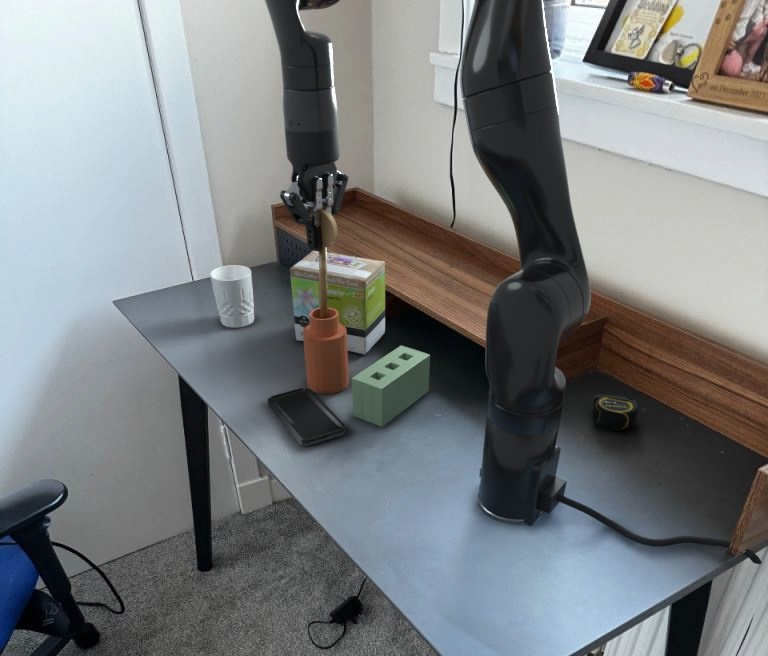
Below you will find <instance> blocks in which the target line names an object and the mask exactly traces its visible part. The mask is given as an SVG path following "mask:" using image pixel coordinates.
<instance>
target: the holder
mask: <svg viewBox="0 0 768 656" xmlns="http://www.w3.org/2000/svg"><path fill="white" fill-rule="evenodd" d="M430 366H431V354H430V353H429V354H428V353H426V352H423V351H420V350H416V349H414V348H410V347H407V346H404V345H399V346H398V347H396V348H395V349H393V350H392V351H390V352H389V353H387V354H386V355H384V356H383V357H381V358H380V359H378V360H377V361H375V362H373V363H372V364H371V365H369V366H367V368H365V369H363V370H362V371H360V372H359V373H357V374H356V375H354V376H353V377H351V392H352V393H351V394H352V415H353V417H356V418H358V419H361V420H363V421H365V422H368V423H371V424H373V425H375V426H378V427H381V428H383V427H384V426H386V425H387V424H388V423H390V422H391V421H392V420H394V419H395V418H396V417H398V416H399V415H400V414H401V413H403V412H404V411H405V410H407V409H408V408H409V407H410V406H411V405H413V404H414V403H416V402H417V401H418V400H419V399H421V398H422V397H423V396H425V395H426V394H428V393H429V391H430V369H431V368H430Z"/></svg>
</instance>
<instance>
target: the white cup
mask: <svg viewBox="0 0 768 656" xmlns="http://www.w3.org/2000/svg"><path fill="white" fill-rule="evenodd" d="M209 277H210V281H211V286H212V292H213V296H214V300H215V303H216V308H217V311H218V315H219V320H220V323H221V325H222V326H225V327H226V328H233V329H236V328H237V329H238V328H245V327H247V326H250V325H251V324H253V323H254V321H255V303H254V289H253V288H254V287H253V278H252V269H251V268H249V267H248V266H245V265H239V264H229V265H222V266H218V267H216V268H214V269H213V270H211V271H210V273H209Z"/></svg>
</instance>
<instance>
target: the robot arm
mask: <svg viewBox="0 0 768 656" xmlns="http://www.w3.org/2000/svg"><path fill="white" fill-rule="evenodd" d="M339 2H341V0H264V3H265V6H266V9H267V12H268V15H269V18H270V21H271V24H272V28H273V32H274V35H275V39H276V42H277V47H278V51H279V56H280V69H281V70H280V71H281V82H282V113H283V126H284V136H285V138H284V139H285V148H286V149H285V150H286V158H287V160H288V161H289V162H290V164H291V166H292V171H291V176H290V180H291V184H290V186H289V187H288V188H287V190H284V189H283V190H280V194H279V198H280V199H281V201H282V203H283V205H284V206H285V208H286V209H287V211H288V212H289V214H290V216H291V217H292V219H293V220H294V222H295V223H296V224H299V225H303V226H305V233H306V245H307V247H308V249H309V250H311V251H317V252H318V251H320V250H322V233H321V226H320V223H321V222H320V210H321V209H323V210H326V211H328V212H329V213H330V214H331V215H332V216H333V217H334V215H335V216H337V215H338V214H339V212H340V209H341V206H342V202H343V199H344V195H345V192H346V188H347V185H348V183H349V175H348V174H346V173H343V172H340V171H339V170H338V166H337V163H336V162H338V160H339V159H340V157H341V156H340V154H341V153H340V132H339V130H340V129H339V108H338V99H337V94H336V85H335V83H336V82H335V59H334V45H333V42H332V39H331V38H330V37H329V36H328V35H326V34H325V33H321V32H318V31H312V30H307V29H306V27H305V25H304V24H303V21H302V18H301V16H300V11H313V10H324V9H329V8H330V7H333V6H335V5H337V4H338V3H339ZM546 27H547V26H546V18H545V10H544V1H543V0H474V2H473V7H472V12H471V14H470V19H469V23H468V27H467V32H466V36H465V39H464V45H463V50H462V55H461V59H460V60H461V61H460V67H459V85H460V86H459V88H460V93H461V98H462V104H463V110H464V111H463V112H464V115H465V120H466V126H467V132H468V136H469V141H470V144H471V147H472V150H473V153H474V156H475V158H476V160H477V162H478V164H479V165H480V167H481V169H482V171H483V172H484V174H485V175H486V177H487V179H488V180H489V182H490V183H491V185H492V186H493V188H494V190H495V191H496V192H497V193H498V195H499V197H500V199H501V200H502V202H503V204H504V205H505V207H506V209H507V212H508V213H509V216H510V218H511V221H512V224H513V228H514V232H515V237H516V238H515V239H516V243H517V249H518V256H519V264H520V265H519V266H520V270H519V271H517V272H515V273H514V274H511V275H510V276H508V277H507V278H505V279H504V280H503V281H501V282H500V283H499V284H498V285H497V286H496V287H495V289H494V290H493V293H492V294H491V297H490V300H489V304H488V308H487V314H486V326H485V351H484V352H485V353H484V369H485V370H484V371H485V374H486V379H487V380H488V384H489V385H488V386H489V389H488V398H487V409H486V417H485V426H484V427H485V428H484V438H483V448H482V459H481V468H480V469H479V478H480V480H479V488H478V494H477V504H478V506H479V508H480V510H481V512H483V513H484V514H485V515H487V516H488V517H489V518H491V519H493V520H496V521H497V522H502V523H504V524H517V525H519V524H525V525H527V526H530V527H531V526H533V525H534V524H535V523H536V522H537V521H538V519H539V518H540V517H542V515H543V514H544V513H546V514H547V515H550V514H551V513H552V512H553V510H554V509H556V507H557V506H558V505H559V504H560V503H561V504H563V505H566V506H568V507H571V508H573V509H575V510H577V511H579V512H581V513H584V514H586V515H588V516H590V517H591V518H593V519H595V520H596V521H598V522H600V523H602V524H603V525H605V526H607V527H609V528H611V529H612V530H614V531H615V532H617V533H618V534H620V535H622V536H623V537H625V538H627V539H628V540H630V541H632V542H634V543H637V544H641V545H644V546H647V547H648V546H649V547H658V548H659V547H661V548H662V547H668V546H675V545H680V544H681V545H682V544H695V545H705V546H715V547H722V548H727V549H730V548H729V546H730V544H731V541H732V540H728V539H723V538H714V537H703V536H695V535H679V536H672V537H668V538H660V539H659V538H648V537H645V536H641V535H638V534H636V533H634V532H632V531H631V530H629V529H627V528H625V527H624V526H622V525H621V524H619V523H618V522H616V521H614V520H612V519H611V518H609V517H607V516H605V515H603V514H602V513H600V512H598V511H597V510H595V509H593V508H591V507H590V506H587V505H585V504H583V503H581V502H578V501H577V500H574V499H572V498H570V497H567V496H565V492H566V488H567V480H566V479H564V478H561V477H558V476H557V472H558V466H559V460H560V455H561V450H562V449H561V447H560V446H557V441H558V435H559V429H560V423H561V418H562V412H563V408H564V407H563V406H564V400H565V395H566V390H567V380H566V376H565V374H564V373H563V372H562V370H560V368H558V367H557V366H556V365H557V364H556V363H557V356H558V348H559V345H560V343H561V342H562V341H564V340H565V339H566V338H567V337H569V336H571V335H572V334H573V333H575V331H577V330H578V329H579V328H580V327H581V326H582V325H583V323H585V321H586V319H587V318H588V315H589V313H590V309H591V302H592V292H591V284H590V279H589V278H590V277H589V273H588V270H587V266H586V261H585V258H584V254H583V253H584V252H583V248H582V245H581V242H580V241H581V240H580V237H579V234H578V230H577V229H578V228H577V225H576V221H575V217H574V212H573V207H572V202H571V195H570V194H571V193H570V187H569V180H568V172H567V166H566V159H565V153H564V147H563V141H562V134H561V126H560V125H561V124H560V114H559V105H558V98H557V91H556V83H555V77H554V72H553V70H554V69H553V64H552V57H551V53H550V47H549V41H548V34H547V28H546ZM311 213H312V216H313V217H311V216H310V214H311ZM329 247H330V245H328V246H326V249H327V248H329ZM747 548H748V549H746V550H745V551H746V552H745V553H742V552H740V553H741V554H742V555H744V556H746V557H747V558H749V560H750V561H751V562H752V563H753V564H756V565H761V564H762V560H761V558H760V557H759V555H757V554H756V553H755V551H753V550H751V549H750V548H749V547H747ZM754 616H755V614H753V615H752V617H751V619H750V621H749V624H748V627H747V629H746V631H745V633H744V635H743V638H742V640H741V642H740V644H739V646H738V649H737V651H736V654H735V656H738V655H739V653H740V651H741V648H742V647H743V645H744V642H745V640H746V638H747V636H748V633H749V631H750V628H751V625H752V622H753V619H754Z"/></svg>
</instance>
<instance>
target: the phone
mask: <svg viewBox="0 0 768 656" xmlns="http://www.w3.org/2000/svg"><path fill="white" fill-rule="evenodd" d="M267 406H268V408H269V409H270V410H271V412H272V413H273V414H274V415H275V416H276V418H277V419H278V420H279V421H280V423H282V425H283V426H284V427H285V428H286V429H287V431H288V432H289V433H290V434H291V435H292V436H293V437H294V439H295V440H296V442H297V443H298V444H299V445H300V446H301V447H302V446H303V447H310V446H313V445H317V444H320V443H324V442H326V441H329V440H332V439H335V438H340V437H342V436H344V435H345V434H346V425H345V423H344V422H343V421H342V420H341V419H340V418H339V417H338V416H337V415H336V414H335V413H334V412H333V411H332V410H331V408H329V407H328V405H326V404H325V402H323V400H321V399H320V397H319V396H318V395H316V392H314V391H312V390H311V389H310V388H309V387H305V386H304V387H299V388H296V389H292V390H289V391H285V392H281V393H278V394H275V395H271V396H269V397H268V398H267Z"/></svg>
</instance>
